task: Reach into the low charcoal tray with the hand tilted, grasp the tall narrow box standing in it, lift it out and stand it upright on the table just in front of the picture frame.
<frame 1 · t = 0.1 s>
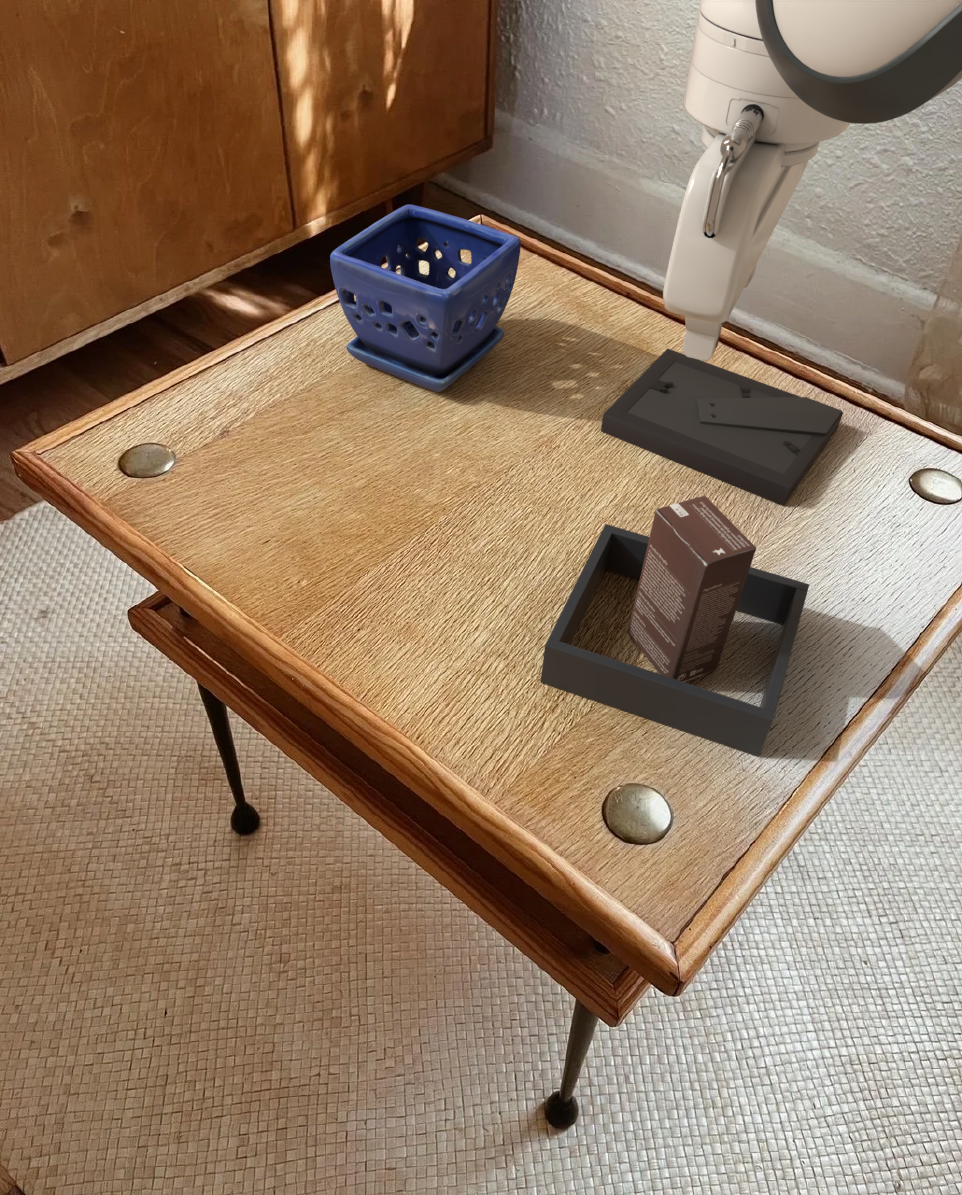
hand: (718, 316, 63), 23 cm above the table, tool pointing down, fingers open, 8 cm apart
flower pot: (426, 360, 100), on the table
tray: (672, 650, 75), on the table
box: (671, 652, 75), resting in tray
picture frame: (719, 432, 94), on the table
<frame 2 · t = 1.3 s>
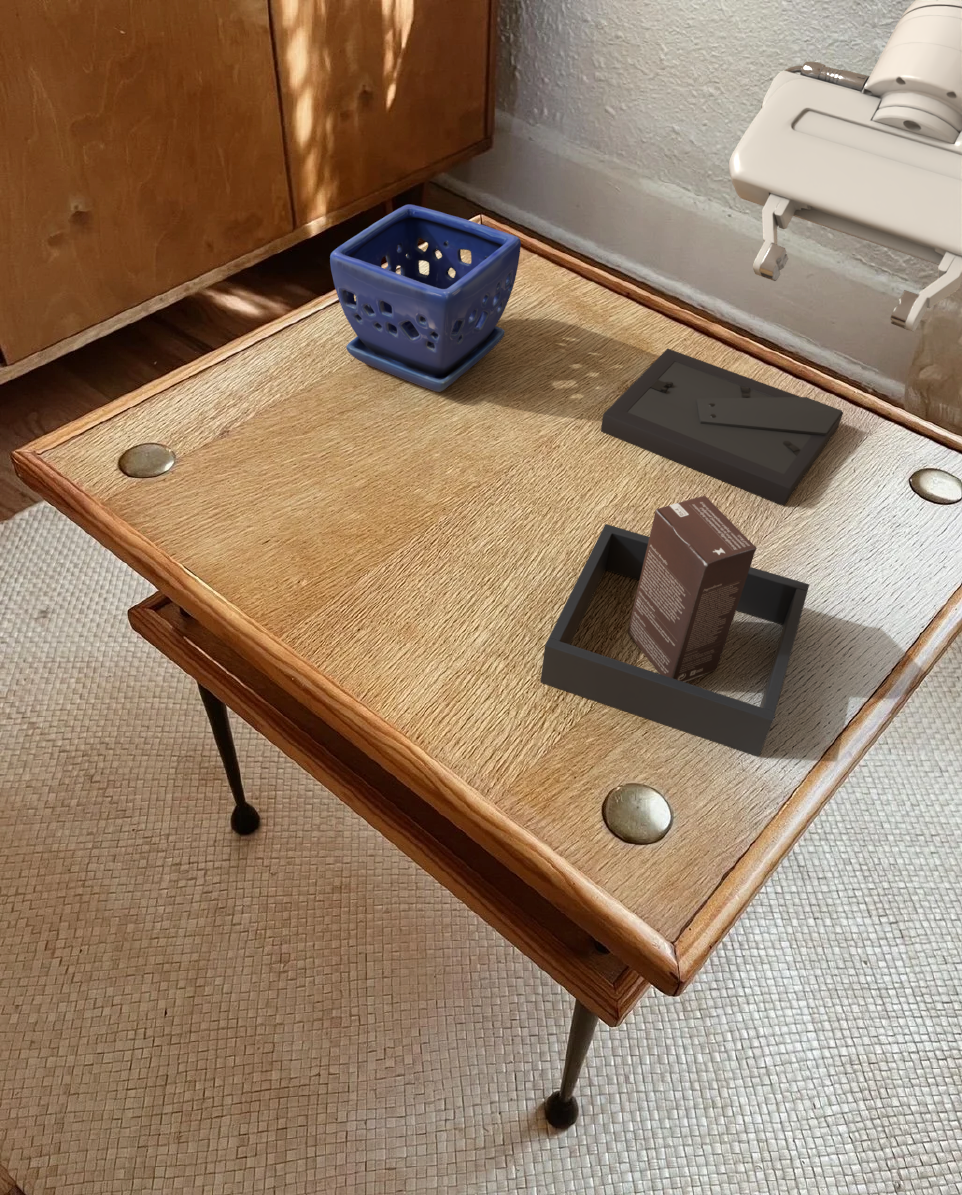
hand: (830, 299, 65), 23 cm above the table, tool tilted 45°, fingers open, 8 cm apart
nothing on the table moved.
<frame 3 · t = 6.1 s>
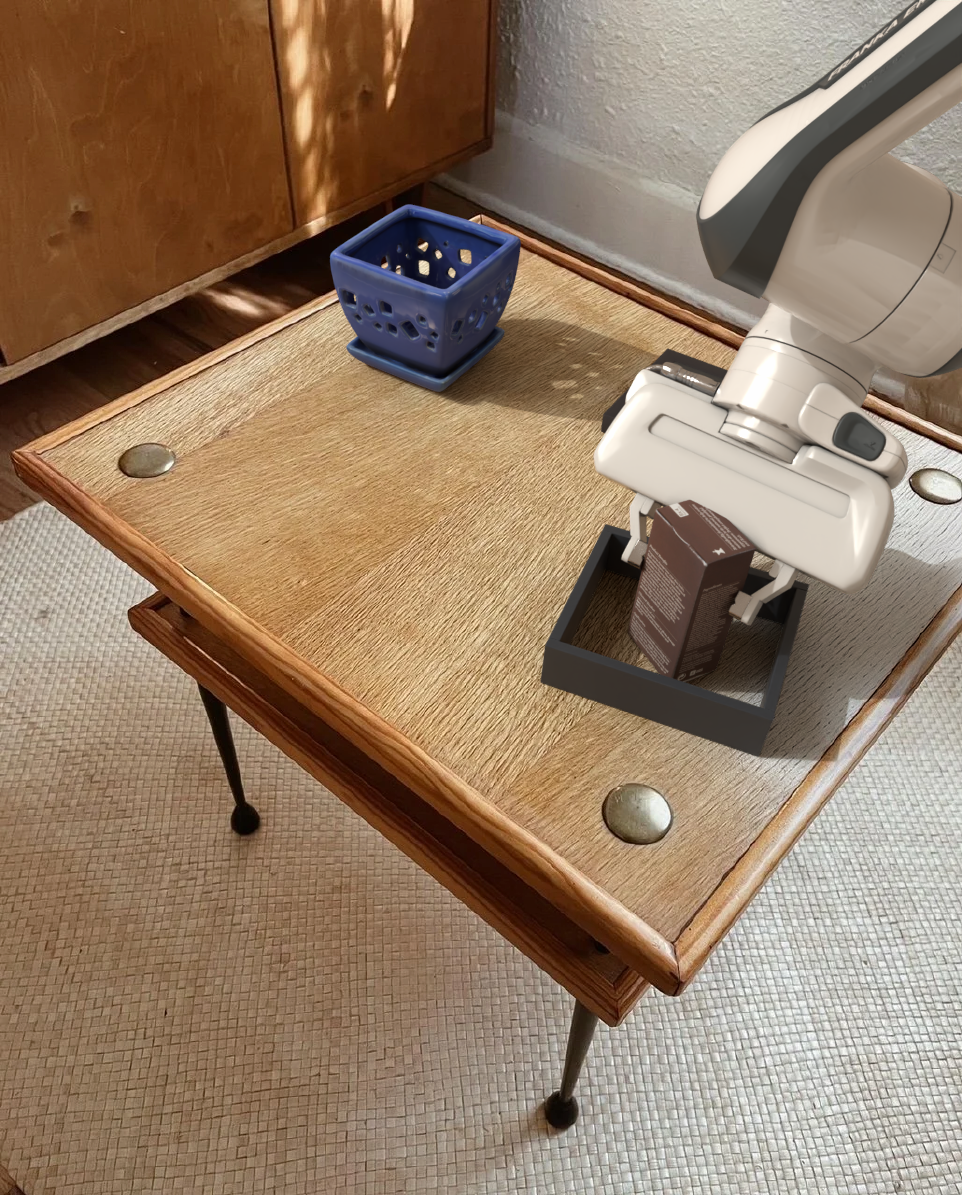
hand: (684, 592, 70), 7 cm above the table, tool tilted 45°, fingers closed on box, 7 cm apart
box: (671, 652, 75), resting in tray, touching gripper
everything else where it was.
when the fingers open (7 cm above the table, at t = 14.8 s): box stays where it is, on the table.
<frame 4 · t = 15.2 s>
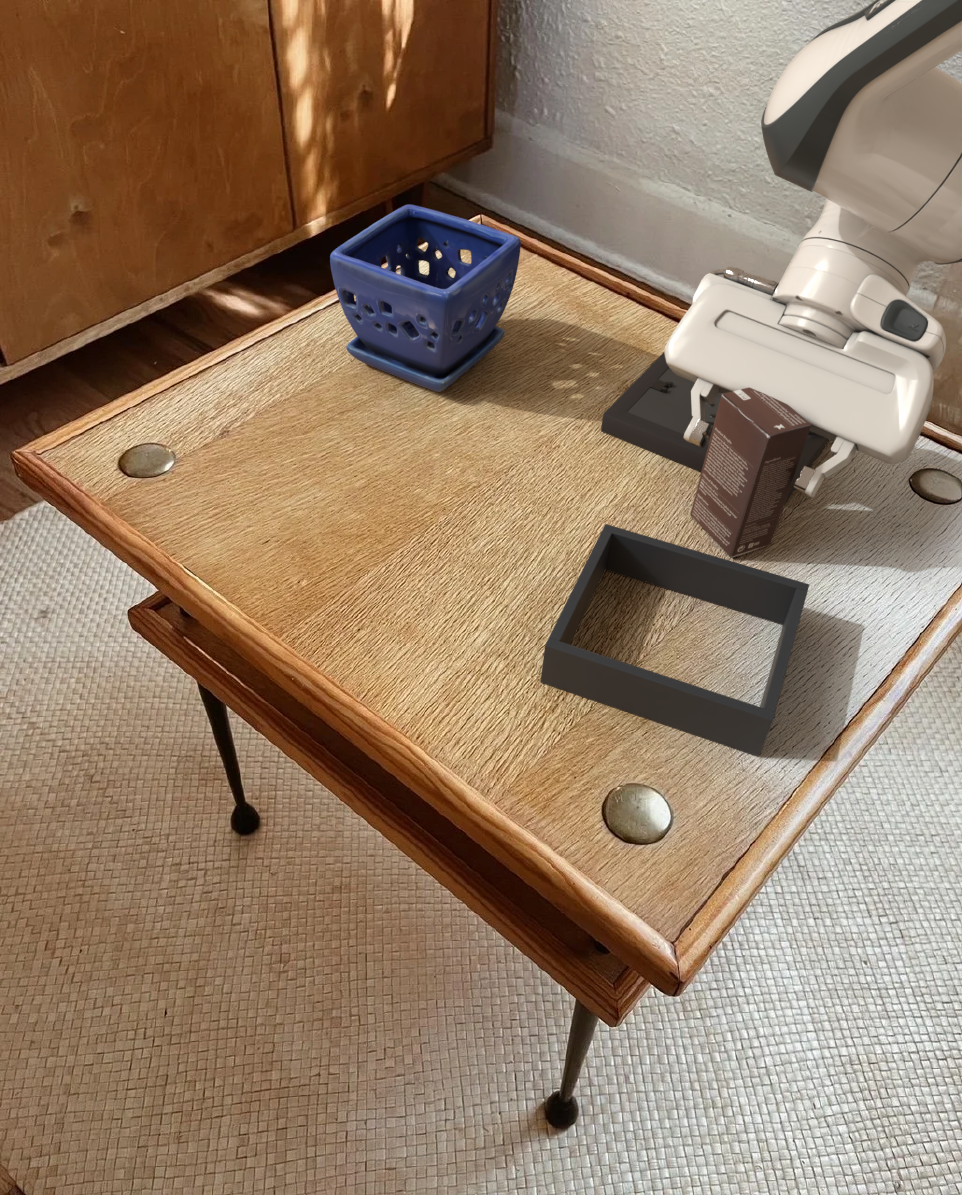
hand: (746, 467, 79), 7 cm above the table, tool tilted 45°, fingers open, 8 cm apart
box: (729, 531, 85), on the table
everything else where it was.
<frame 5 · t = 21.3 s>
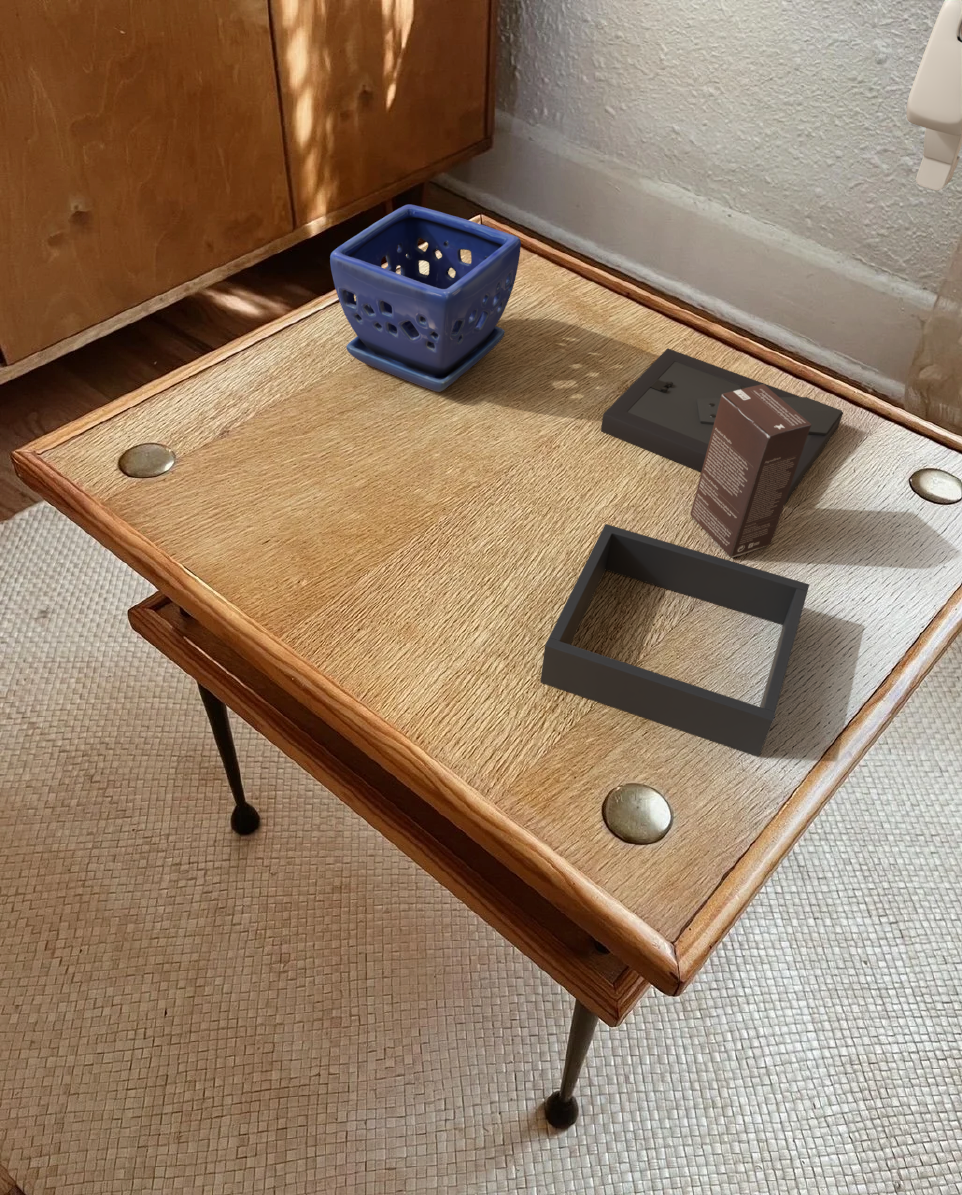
hand: (957, 161, 66), 29 cm above the table, tool pointing down, fingers open, 8 cm apart
nothing on the table moved.
at the end: box inside the target area on the table beside the picture frame (0.6 cm from its centre), on the table; box tilted 0°; the gripper is holding nothing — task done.
